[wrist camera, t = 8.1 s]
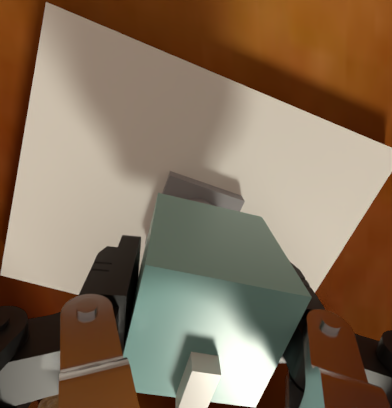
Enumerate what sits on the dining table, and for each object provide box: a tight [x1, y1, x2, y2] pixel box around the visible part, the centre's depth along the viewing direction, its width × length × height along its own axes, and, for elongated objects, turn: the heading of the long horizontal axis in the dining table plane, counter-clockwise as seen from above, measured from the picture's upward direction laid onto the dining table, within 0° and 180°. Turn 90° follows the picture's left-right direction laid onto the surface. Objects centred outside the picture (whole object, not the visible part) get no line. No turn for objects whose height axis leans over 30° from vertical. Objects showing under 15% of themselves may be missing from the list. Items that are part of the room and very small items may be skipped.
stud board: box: [0, 2, 392, 295], centre depth 15 cm, size 18×14×5 cm
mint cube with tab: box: [123, 193, 312, 408], centre depth 10 cm, size 4×4×6 cm
